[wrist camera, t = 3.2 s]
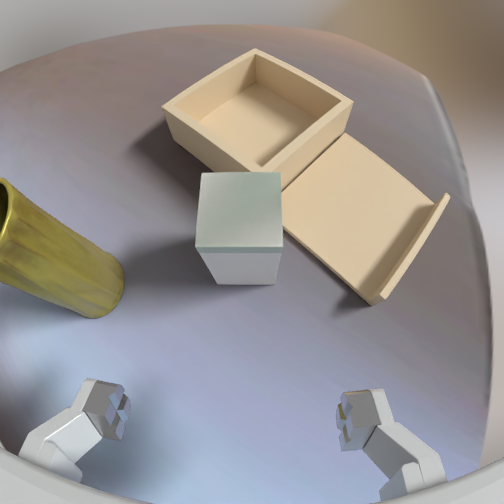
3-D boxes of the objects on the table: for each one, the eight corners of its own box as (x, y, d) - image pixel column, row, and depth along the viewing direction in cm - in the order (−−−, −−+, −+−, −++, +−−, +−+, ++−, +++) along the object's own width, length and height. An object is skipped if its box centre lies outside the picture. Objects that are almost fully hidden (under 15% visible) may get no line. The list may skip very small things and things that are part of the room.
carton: (217, 284, 24) (195, 246, 16) (219, 231, 26) (201, 173, 17) (274, 284, 24) (282, 246, 16) (274, 231, 26) (280, 171, 17)
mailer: (173, 139, 29) (161, 106, 24) (255, 81, 32) (254, 48, 27) (371, 306, 23) (396, 294, 19) (436, 210, 26) (461, 186, 21)
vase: (114, 327, 23) (-10, 290, 10) (61, 307, 24) (-57, 262, 10) (133, 259, 25) (35, 171, 12) (80, 246, 26) (-21, 168, 12)
